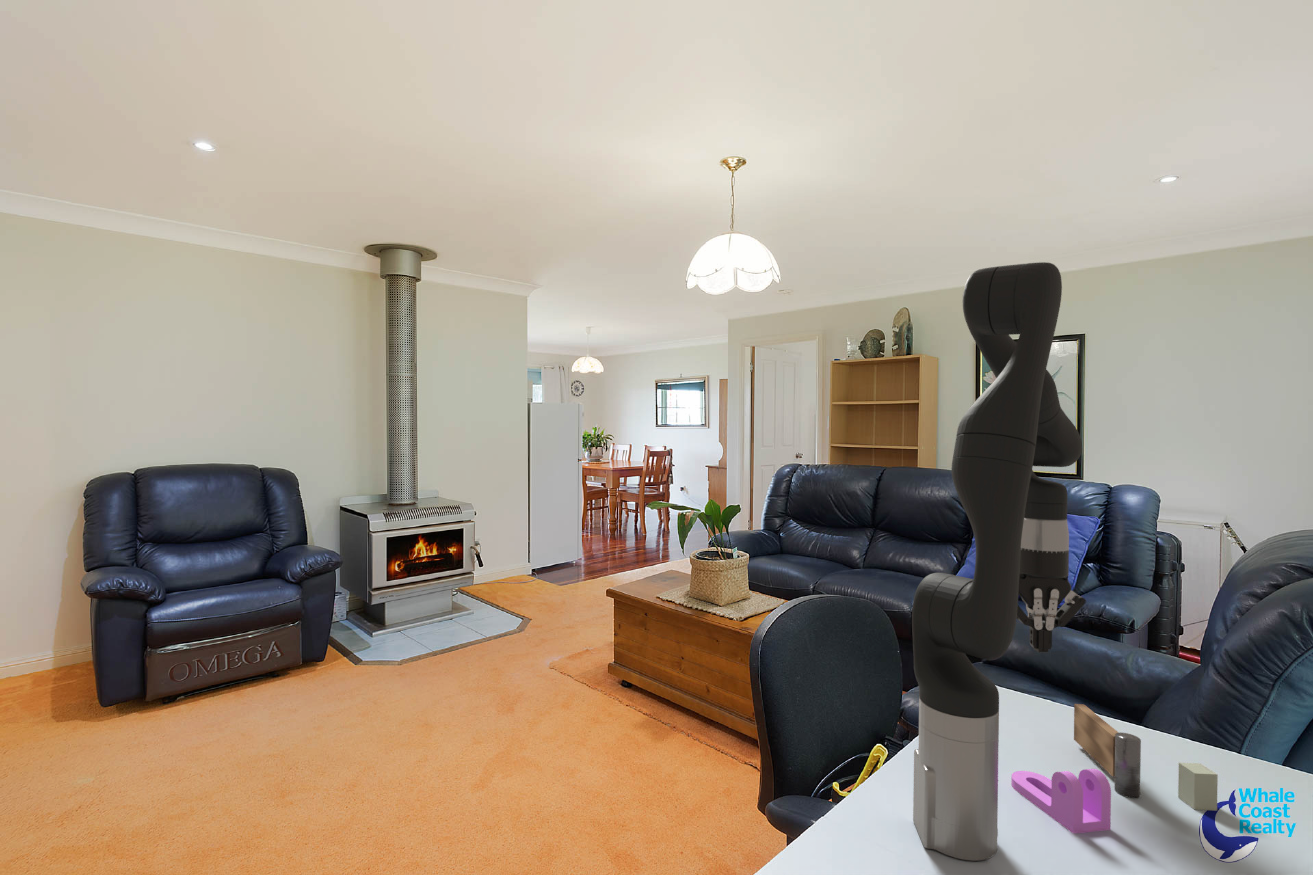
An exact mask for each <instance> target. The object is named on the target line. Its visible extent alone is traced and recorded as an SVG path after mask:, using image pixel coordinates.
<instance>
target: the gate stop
mask: <svg viewBox="0 0 1313 875" xmlns="http://www.w3.org/2000/svg"><path fill="white" fill-rule="evenodd" d="M1218 778H1219V776H1218V773H1216V772H1214V771H1213V770H1211V769H1210V768H1208V766H1205V765H1204V764H1202V763H1199V762H1198V763H1194V762H1193V763H1192V762H1178V780H1177V781H1178V784H1177V785H1178V786H1177V787H1178V788H1177V789H1178V791H1177V794H1178V796H1177V798H1179V800H1181V801H1182V802H1184V803H1185V804H1186V805H1188V806H1189V807H1190V808H1192V809H1193V810H1198V811H1218Z"/></svg>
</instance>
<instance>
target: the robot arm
mask: <svg viewBox="0 0 1313 875" xmlns="http://www.w3.org/2000/svg"><path fill="white" fill-rule="evenodd" d="M1062 283H1063V282H1062V276H1061V272H1060V269H1059V268H1058V267H1057V266H1056V265H1055V263H1051V262H1048V261H1047V262H1044V261H1043V262H1041V261H1039V262H1030V263H1029V262H1028V263H1017V264H1009V265H998V266H990V267H985V268H980V269H977V270H975V271H973V272H972V273H971V274H969V276H968V278H967V280H966V281H965V284H964V288H963V294H962V311H963V316H964V320H965V322H966V325H967V328H968V330H969V333H970V334H971V336H972V339H973V341H974V342H975V344H976V346H977V347H978V349H979V351H980V352H981V355H982V357H983V358H984V359H985V362H986V363H987V365H988V367H989V368H990V370H991V372H992V373H993V375H994V376H995V379H994V381H993V382H992V383H991V384H990V385H989V386H988V387H987V388H986V389H985V390H984V392H982V394H981V395H980V396H979V397H978V398H976V400H975V401H974V402H973V404H971V406H970V407H969V408H968V410H967V411H966V412H965V414H964V415H963V417H962V418H961V420H960V421H959V424H958V426H957V429H956V430H957V431H956V437H955V442H954V449H953V454H952V455H953V456H952V462H951V478H952V481H953V485H954V487H955V491H956V493H957V495H958V498H959V500H960V503H961V505H962V508H963V509H964V512H965V514H966V516H967V517H968V520H969V523H970V525H971V528H972V532H973V537H974V540H975V541H974V542H975V561H974V564H975V565H974V572H973V578H969V577H965V576H960V575H957V574H955V575H954V574H950V573H945V572H934V573H930V574H928V575H926V576H925V577H923V579H922V580H920V583H918V586H917V587H916V589H915V590H916V591H915V593H914V596H913V602H912V610H911V629H912V632H911V633H912V651H913V670H914V671H913V672H914V676H915V680H916V682H917V685H918V696H919V697H918V699H919V700H918V749H914V751H913V793H912V794H913V798H912V800H913V801H912V802H913V807H912V811H913V812H912V813H913V814H912V820H913V823H914V826H915V828H916V831H917V833H918V836H919V838H920V840H921V843H922V845H923V847H924V848H925V849H928V850H929V849H932V850H935V851H938V852H940V853H942V854H944V855H945V856H948V857H951V858H955V859H959V860H962V861H963V860H964V861H984V860H988V859H990V858H992V857H994V855H996V853H997V851H998V837H999V834H998V833H999V832H998V831H999V830H998V815H999V813H998V812H999V810H998V809H999V808H998V806H999V798H998V797H999V746H1000V745H999V736H1000V729H999V728H1000V693H999V689H998V687H997V685H996V684H995V683H994V682H993V681H992V680H991V679H990V678H989V677H987V675H985V674H984V673H983V672H982V671H980V670H979V669H978V668H977V667H976V666H975V665H974V664H973V663H972V662H971V660H970V659H969V657H968V656H972V657H975V658H978V659H982V660H984V661H985V660H986V661H994V660H998V659H1000V658H1001V657H1003V656H1004V654H1006V652H1007V651H1008V649H1009V648H1010V645H1011V643H1012V641H1013V638H1014V635H1015V630H1016V626H1017V620H1018V621H1019V622H1020V623H1021V624H1023V625H1024V626H1028V627H1029V644H1030V646H1031V647H1032V648H1033V650H1034V651H1035V652H1037V653H1044V654H1048V653H1049V650H1051V649H1052V647H1053V643H1052V642H1053V630H1054V629H1055V628H1059V627H1060V628H1064V627H1065V626H1066V625H1067V624H1068V623H1069V622H1070V621H1071V620H1072V619H1073V617H1074V616H1076V615H1077V613H1078V612H1079V611H1080V610H1081V608H1083V607H1084V606H1085V604H1086V603H1087V602H1086V601H1087V600H1086V599H1085V597H1082V595H1081V596H1080V595H1078V593H1077V592H1075V591H1074V590H1072V585H1071V583H1070V581H1069V573H1070V571H1069V569H1070V565H1069V562H1070V561H1069V560H1070V558H1069V557H1070V550H1069V549H1070V532H1069V524H1068V490H1067V487H1066V485H1064V484H1063V483H1060V482H1056V481H1054V480H1047V479H1044V478H1041V477H1039V476H1038V475H1036V473H1035V472H1034V471H1033V467H1046V468H1047V467H1049V468H1064V467H1065V468H1066V467H1070V466H1072V465H1074V464H1075V463H1076V462H1077V461H1078V460H1079V459H1080V457H1081V455H1082V450H1083V442H1082V439H1081V435H1080V432H1079V431H1078V429H1077V427H1076V426H1075V425H1074V423H1073V421H1072V420H1071V419H1070V418H1069V417H1068V415H1066V413H1065V412H1064V410H1063V409H1062V407H1061V403H1060V398H1059V395H1058V394H1059V393H1058V389H1057V385H1056V383H1055V382H1056V381H1054V378H1053V376H1052V374H1051V373H1050V372H1049V371H1048V370H1047V367H1048V362H1049V357H1050V355H1051V354H1050V353H1051V349H1052V346H1053V341H1054V337H1055V332H1056V328H1057V323H1058V319H1059V313H1060V308H1061V302H1062V296H1063V295H1062V294H1063V293H1062V290H1063V284H1062ZM1010 335H1019V336H1018V340H1017V342H1016V341H1015V340H1014V339H1013V338H1012V337H1011V336H1010ZM1019 597H1020V599H1021V600H1022V602H1024V604H1025V609H1026V611H1027V614H1026V613H1025V612H1024V610H1023V609H1022V608H1021V607H1020V605H1019ZM1063 601H1064V603H1063V604H1062V602H1063ZM1061 604H1062V605H1061ZM1060 605H1061V607H1059V608H1058V606H1060Z"/></svg>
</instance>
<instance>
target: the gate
mask: <svg viewBox="0 0 1313 875" xmlns="http://www.w3.org/2000/svg"><path fill="white" fill-rule="evenodd" d="M1073 707H1074V709H1073V716H1074V717H1073V722H1074V723H1073V741H1075V742H1076V743H1077V744H1078V745H1079V746H1080V747H1081V749H1083V750H1084V751H1085V752H1086V753H1087V754H1088V755H1089V756H1090V757H1091V758H1092V759H1094V760H1095V761H1096V762H1097V763H1098V764H1099V765H1100V766H1101V767H1102V768H1103V769H1104V770H1106V772H1108V773H1109V775H1111V776H1112V777H1114V778H1115V734H1116V733H1120V732H1119V731H1118V730H1116V729H1115V728H1114V727H1112V726H1111V725H1110V724H1109V723H1107V721H1105V720H1104V719H1103V718H1101V717H1100V716H1099V715H1098V714H1097V713H1095V712H1094V711H1093V710H1092V709H1090V708H1089V707H1088V706H1087V705H1085V704H1084V703H1083V704H1082V703H1081V704H1080V703H1074V704H1073Z"/></svg>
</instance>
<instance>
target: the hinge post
mask: <svg viewBox="0 0 1313 875" xmlns="http://www.w3.org/2000/svg"><path fill="white" fill-rule="evenodd" d="M1141 743H1142V739H1141V738H1140V737H1139V736H1136V735H1134V734H1131V733H1128V732H1119V733H1116V734H1115V777H1114V791H1115V792H1116V793H1117V794H1118V795H1121V796H1123V797H1127V798H1130V799H1138V798H1140V797H1141V766H1142V765H1141V760H1142V759H1141V758H1142V757H1141V752H1142V744H1141Z"/></svg>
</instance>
